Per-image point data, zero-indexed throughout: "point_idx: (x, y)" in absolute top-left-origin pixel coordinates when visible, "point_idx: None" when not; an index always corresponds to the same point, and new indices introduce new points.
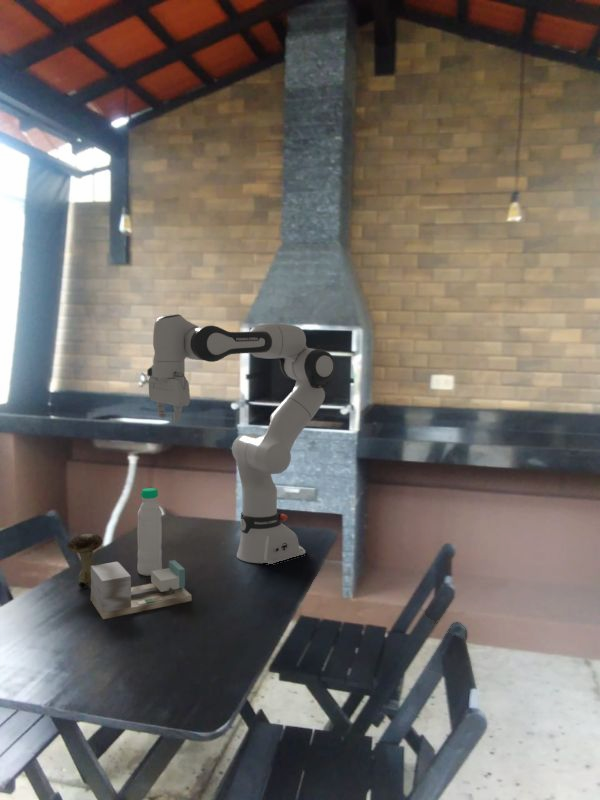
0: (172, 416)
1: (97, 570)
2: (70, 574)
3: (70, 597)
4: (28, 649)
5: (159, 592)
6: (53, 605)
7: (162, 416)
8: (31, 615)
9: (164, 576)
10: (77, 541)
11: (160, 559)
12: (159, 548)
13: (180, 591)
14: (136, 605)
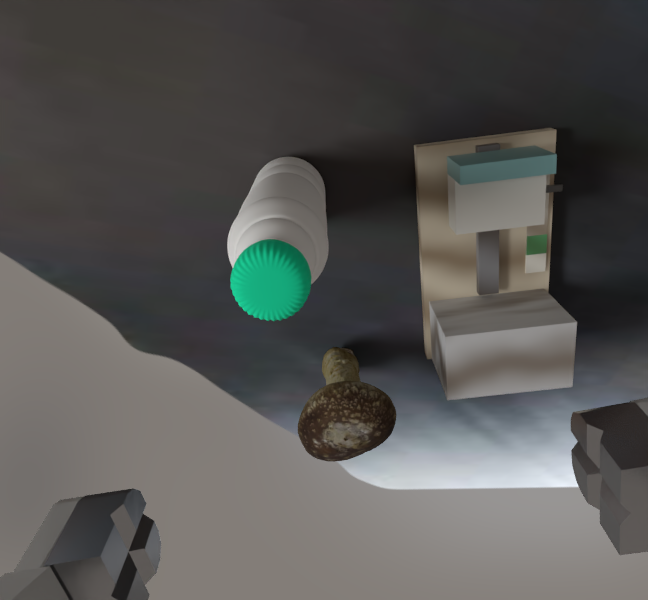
0: (613, 528)
1: (490, 389)
2: (236, 378)
3: (386, 387)
4: None
5: None
6: (416, 418)
7: (147, 537)
8: (447, 453)
9: (517, 208)
10: (366, 450)
11: (308, 171)
12: (311, 183)
13: None
14: (542, 275)
